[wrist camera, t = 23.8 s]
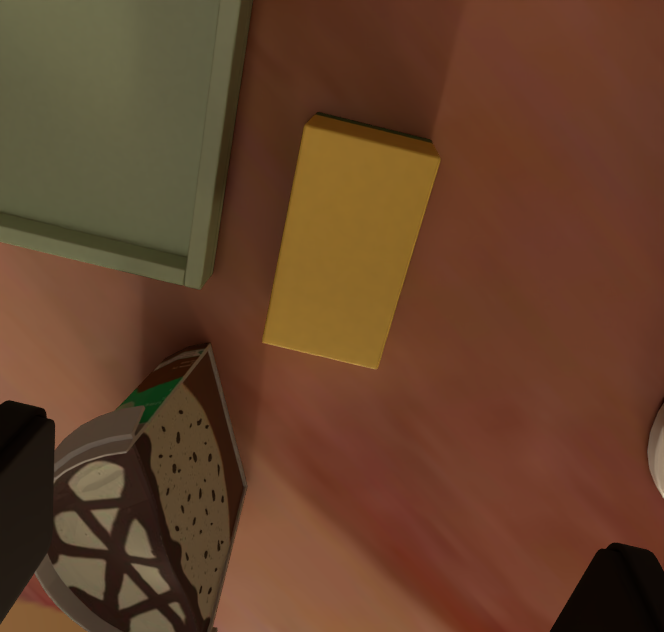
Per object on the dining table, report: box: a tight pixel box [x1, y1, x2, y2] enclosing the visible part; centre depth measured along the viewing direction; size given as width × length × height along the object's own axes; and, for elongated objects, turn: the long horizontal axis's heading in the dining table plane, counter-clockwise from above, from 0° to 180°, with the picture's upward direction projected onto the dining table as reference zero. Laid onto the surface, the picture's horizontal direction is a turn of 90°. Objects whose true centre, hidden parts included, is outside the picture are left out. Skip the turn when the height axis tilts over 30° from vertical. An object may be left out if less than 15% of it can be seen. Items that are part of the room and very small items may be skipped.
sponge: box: [262, 112, 441, 369], centre depth 24 cm, size 5×9×4 cm, turn 167°
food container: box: [35, 343, 248, 632], centre depth 27 cm, size 12×6×10 cm, turn 8°
